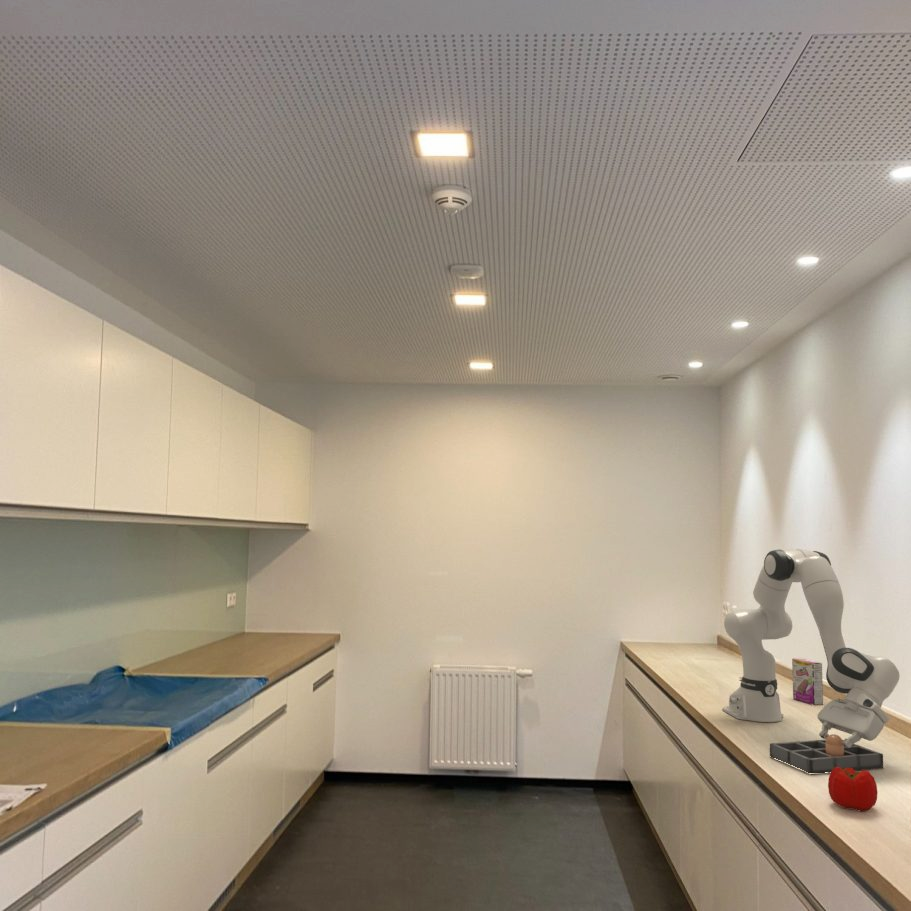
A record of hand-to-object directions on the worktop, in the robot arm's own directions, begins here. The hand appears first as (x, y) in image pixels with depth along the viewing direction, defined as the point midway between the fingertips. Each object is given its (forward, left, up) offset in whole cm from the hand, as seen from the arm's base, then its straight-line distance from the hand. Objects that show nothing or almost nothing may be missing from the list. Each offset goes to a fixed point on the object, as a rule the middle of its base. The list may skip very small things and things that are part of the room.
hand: (833, 741), depth 229 cm
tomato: (+29, -20, -7) cm, 36 cm away
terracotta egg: (0, 0, -6) cm, 6 cm away
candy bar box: (-75, +52, -7) cm, 92 cm away
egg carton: (-4, 0, -7) cm, 8 cm away
